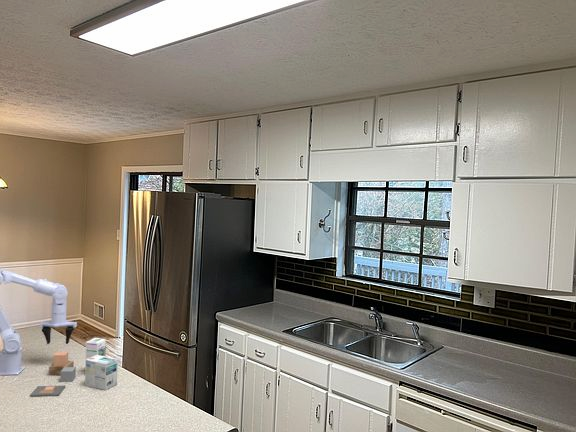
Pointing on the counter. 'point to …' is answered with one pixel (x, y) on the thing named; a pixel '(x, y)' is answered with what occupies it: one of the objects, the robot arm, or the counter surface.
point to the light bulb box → (101, 372)
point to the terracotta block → (60, 358)
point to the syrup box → (95, 347)
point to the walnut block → (59, 368)
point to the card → (47, 391)
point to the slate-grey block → (68, 374)
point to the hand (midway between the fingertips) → (58, 343)
